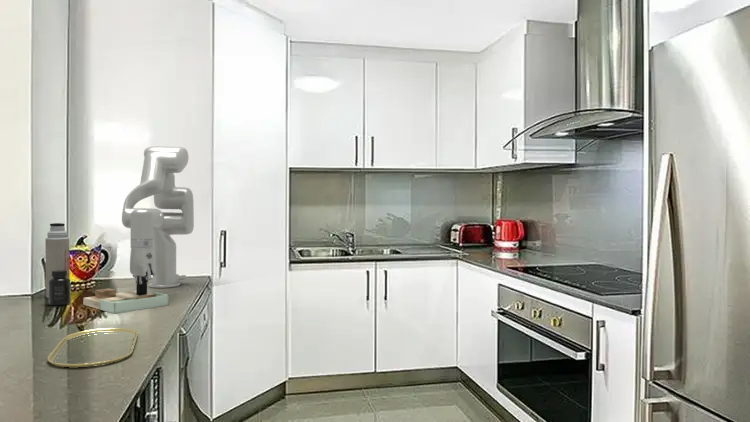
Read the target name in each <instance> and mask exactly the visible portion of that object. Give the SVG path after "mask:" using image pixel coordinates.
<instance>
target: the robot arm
mask: <svg viewBox="0 0 750 422" xmlns="http://www.w3.org/2000/svg"><path fill="white" fill-rule="evenodd" d="M143 157H144V159H143V165H142V171H141V176H140V183H139V185H137V186H135V188H132V190H131V191H130V192H129V193H128V194H127V196H126V197H125V198H124V201H123V202H124V203H123V207H122V213H121V223H122V225H123V227H124V228H127V229H130V256H129V272H130V274H131V275H132V277H133V278H134V279H135V284H136V286H135V287H136V289H135V291H136V294H137V295H139V296H141V295H147V293H148V287H149V288H153V289H154V288H155V289H163V288H164V289H165V288H175V287H176V288H177V287H179V286H180V285H181V282H180V281H181V280H182V281H183V280H186V279H187V275H186V274H182V275H179V274H177V243H176V241H175V240H174V239H173V237H172V236H174V235H180V236H181V235H182V236H183V235H190V234H192V232H193V231H194V226H195V225H194V224H195V221H194V220H195V219H194V217H195V216H194V215H195V213H194V211H195V210H194V194H193V191H192V190H191V188H189V187H185V186H183V187H181V186H178V187H177V186H176V184H175V181H176V180H175V179H176V177H175V174H179V173H182V172H183V171H184V169H185V168H186V167H187V165H188V163H189V153H188V150H187V149H186V148H185V147H181V146H148V147H146V148H145V149H144V150H143ZM152 196H153V203H154V206H155V208H146V207H144V208H143V207H137V208H135V206H136V205H137V204H138V203H139V202H141V201H143V200H145V199H146V198H150V197H152ZM161 210H180V211H181V212H173V211H172V212H171V211H170V212H169V211H168V212H167V211H166V212H164V211H161ZM171 235H172V236H171ZM150 280H152V282H149V281H150Z"/></svg>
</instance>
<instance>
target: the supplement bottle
mask: <svg viewBox="0 0 750 422" xmlns="http://www.w3.org/2000/svg"><path fill="white" fill-rule="evenodd" d="M51 276H52V279H50V280H49V298H48V304H49V306H52V307H59V306H67V305H70V304H71V302H72V301H71V300H72V299H71V294H72V293H71V279H69V278H67V270H56V271H52V275H51Z"/></svg>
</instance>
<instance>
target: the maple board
mask: <svg viewBox="0 0 750 422" xmlns="http://www.w3.org/2000/svg"><path fill="white" fill-rule="evenodd" d="M147 295H153V293H150V292H147ZM141 296H145V295H141ZM141 296H139V295H137V294H136V290H132V291H123V292H118V293H117V292H116V297H111V298H104V299H103V300H106V301H110V302H116V301H123V300H129V299H136V298H137V297H141ZM100 299H101V298H97V297H95V296H88V297H87V296H86V297H83V300H82V301H83V302H82V303H83V306H87V307H91V308H94V309H97V310H100Z"/></svg>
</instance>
